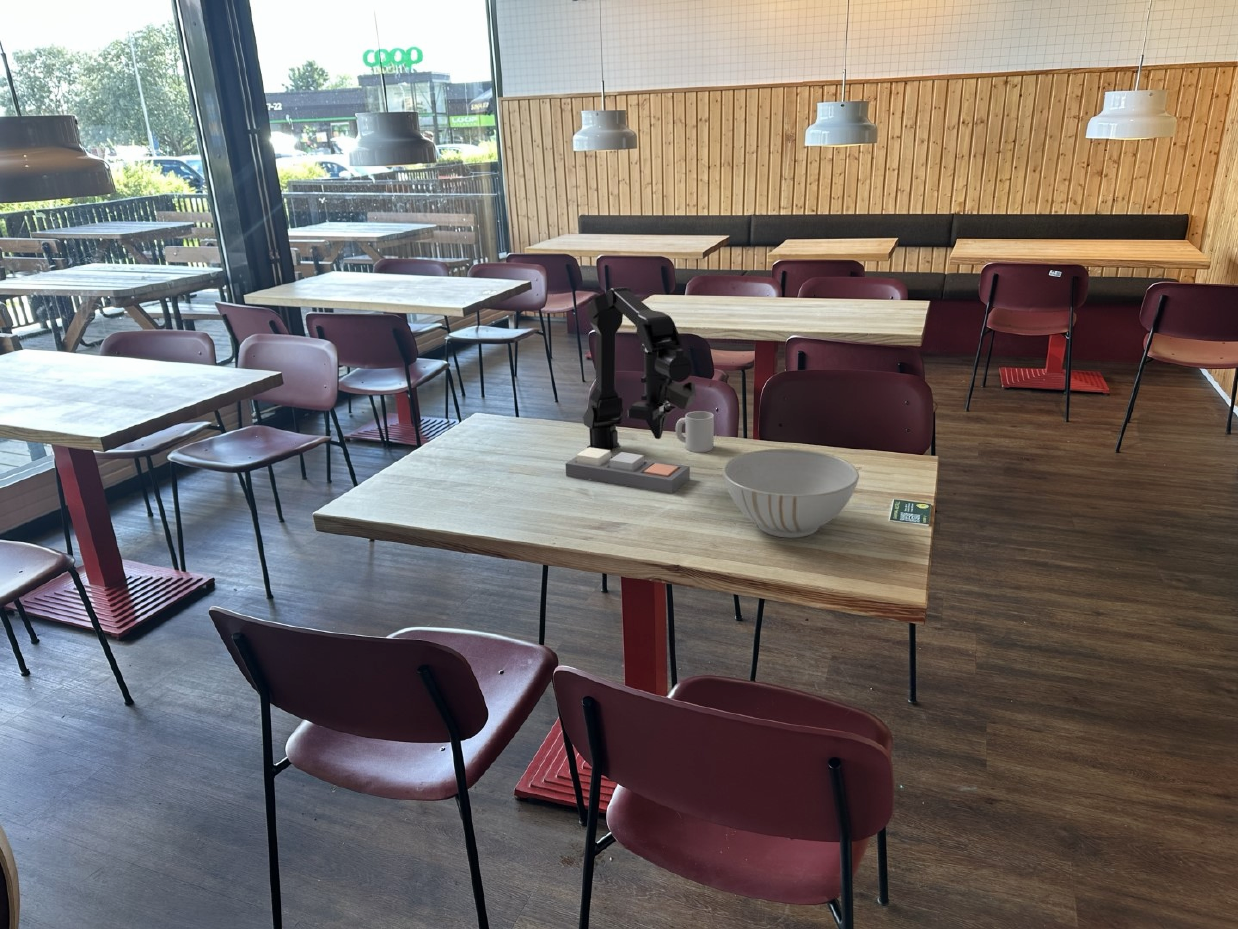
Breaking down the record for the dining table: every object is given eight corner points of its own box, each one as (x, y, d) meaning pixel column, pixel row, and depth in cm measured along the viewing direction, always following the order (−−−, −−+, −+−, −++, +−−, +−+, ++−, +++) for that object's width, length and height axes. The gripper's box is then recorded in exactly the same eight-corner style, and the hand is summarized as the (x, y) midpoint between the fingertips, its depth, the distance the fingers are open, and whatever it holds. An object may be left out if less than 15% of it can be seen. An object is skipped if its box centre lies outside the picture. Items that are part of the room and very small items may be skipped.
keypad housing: (566, 475, 210) (565, 463, 209) (586, 462, 218) (586, 450, 217) (671, 493, 197) (671, 480, 196) (689, 478, 206) (689, 466, 205)
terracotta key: (644, 481, 202) (643, 471, 202) (655, 472, 207) (655, 463, 206) (667, 484, 200) (667, 475, 199) (678, 476, 205) (678, 466, 204)
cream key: (576, 464, 210) (576, 454, 209) (589, 456, 215) (589, 447, 214) (598, 467, 207) (598, 458, 206) (610, 459, 212) (610, 450, 211)
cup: (709, 453, 222) (709, 420, 219) (671, 450, 225) (671, 417, 222) (716, 445, 228) (716, 412, 225) (679, 441, 231) (679, 409, 228)
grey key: (609, 469, 206) (609, 459, 205) (621, 461, 211) (621, 452, 210) (632, 473, 203) (632, 463, 202) (643, 464, 208) (643, 455, 207)
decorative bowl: (755, 563, 164) (756, 503, 160) (702, 510, 188) (702, 457, 184) (881, 542, 171) (886, 484, 167) (815, 493, 195) (817, 442, 191)
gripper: (672, 386, 184) (673, 455, 189) (706, 365, 199) (706, 431, 205) (625, 380, 189) (627, 449, 194) (662, 361, 204) (663, 425, 210)
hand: (658, 438), depth 200 cm, fingers closed
